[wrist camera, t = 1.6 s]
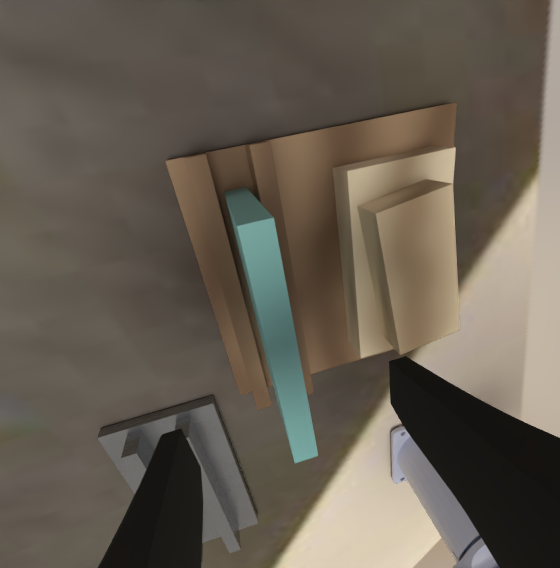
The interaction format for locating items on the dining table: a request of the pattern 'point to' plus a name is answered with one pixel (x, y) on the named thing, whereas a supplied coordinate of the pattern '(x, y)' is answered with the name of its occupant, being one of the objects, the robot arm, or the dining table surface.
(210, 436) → the metal slot stand
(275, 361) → the teal board
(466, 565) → the robot arm
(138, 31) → the dining table surface
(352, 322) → the lower birch offcut
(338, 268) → the walnut rack
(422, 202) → the upper pine offcut
